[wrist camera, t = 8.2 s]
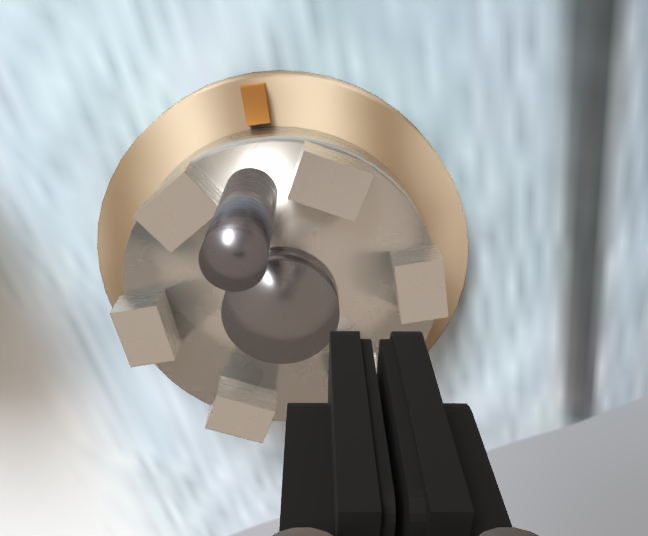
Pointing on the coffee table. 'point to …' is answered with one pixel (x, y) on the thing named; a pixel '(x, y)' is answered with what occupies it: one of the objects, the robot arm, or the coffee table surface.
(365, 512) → the robot arm
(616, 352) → the coffee table surface
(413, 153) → the round tan disc base
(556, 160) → the coffee table surface
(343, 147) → the disc with radial blocks
